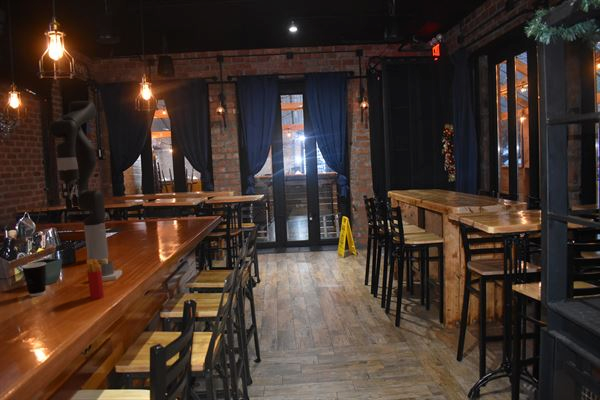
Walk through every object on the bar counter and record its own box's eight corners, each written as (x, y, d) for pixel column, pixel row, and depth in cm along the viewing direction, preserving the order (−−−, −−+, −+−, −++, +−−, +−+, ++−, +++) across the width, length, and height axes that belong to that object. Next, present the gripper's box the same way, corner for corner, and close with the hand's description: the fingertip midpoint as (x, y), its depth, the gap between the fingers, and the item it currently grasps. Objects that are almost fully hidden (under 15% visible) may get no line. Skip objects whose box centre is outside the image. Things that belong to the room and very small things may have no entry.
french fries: (103, 299, 165) (99, 261, 163) (89, 301, 163) (85, 262, 162) (104, 292, 173) (100, 256, 172) (91, 294, 172) (87, 257, 171)
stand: (96, 276, 200) (94, 258, 199) (122, 273, 201) (120, 255, 200) (89, 282, 190) (87, 263, 189) (116, 279, 191) (114, 260, 190)
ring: (100, 273, 198) (98, 262, 198) (115, 271, 199) (114, 260, 198) (96, 276, 192) (94, 265, 192) (111, 275, 193) (110, 263, 192)
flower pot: (64, 280, 196) (62, 258, 195) (47, 286, 188) (44, 263, 187) (47, 280, 199) (45, 258, 198) (29, 286, 191) (26, 263, 190)
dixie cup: (51, 290, 182) (47, 261, 181) (48, 295, 175) (44, 265, 174) (27, 293, 180) (23, 264, 178) (23, 299, 172) (19, 268, 171)
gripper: (64, 169, 210) (68, 206, 211) (52, 169, 196) (57, 210, 197) (82, 167, 211) (87, 205, 212) (72, 168, 197) (76, 208, 198)
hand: (72, 207), depth 205 cm, fingers open, 8 cm apart
